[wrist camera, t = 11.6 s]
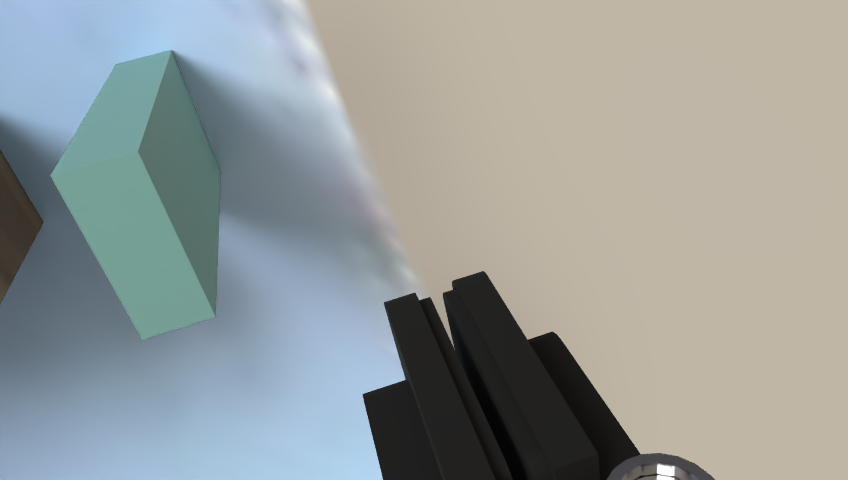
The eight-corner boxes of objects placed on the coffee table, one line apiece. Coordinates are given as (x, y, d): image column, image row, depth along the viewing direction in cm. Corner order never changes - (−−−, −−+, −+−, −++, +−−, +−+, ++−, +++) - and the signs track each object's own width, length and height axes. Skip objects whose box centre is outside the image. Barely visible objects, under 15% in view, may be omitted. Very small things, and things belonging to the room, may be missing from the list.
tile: (171, 186, 26) (141, 339, 18) (115, 64, 23) (50, 175, 15) (220, 172, 26) (215, 317, 18) (171, 50, 24) (137, 151, 15)
